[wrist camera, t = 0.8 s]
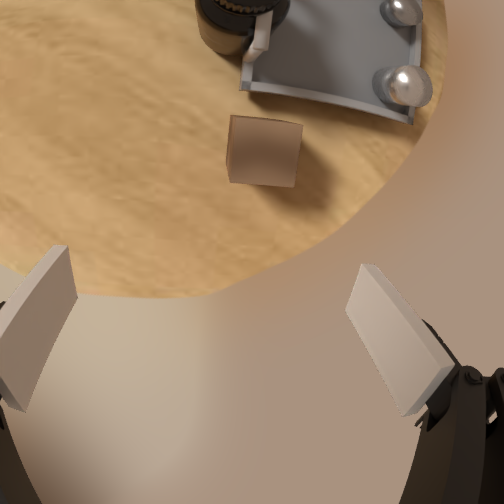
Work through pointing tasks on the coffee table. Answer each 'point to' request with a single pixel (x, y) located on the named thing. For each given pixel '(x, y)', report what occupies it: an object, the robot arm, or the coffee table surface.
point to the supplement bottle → (235, 22)
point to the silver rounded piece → (403, 85)
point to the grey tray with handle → (330, 55)
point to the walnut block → (263, 151)
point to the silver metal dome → (401, 13)
